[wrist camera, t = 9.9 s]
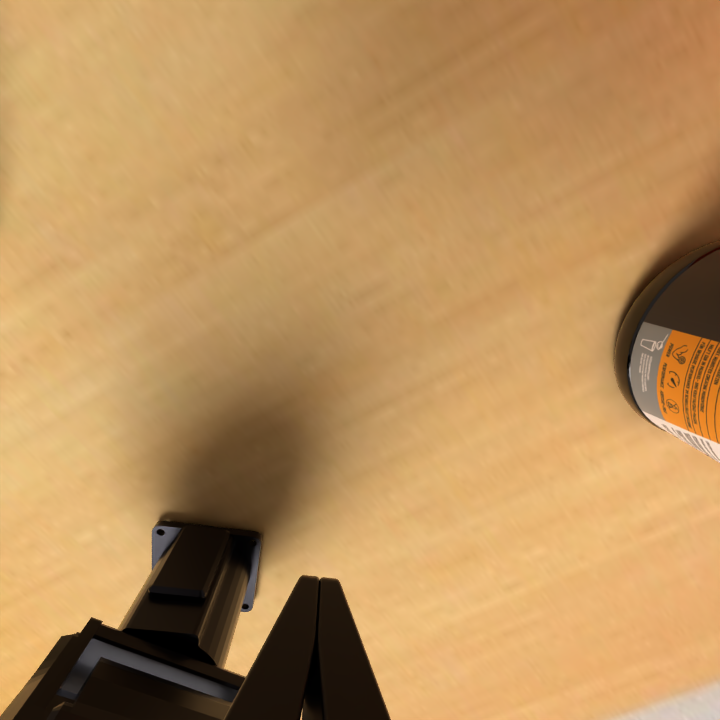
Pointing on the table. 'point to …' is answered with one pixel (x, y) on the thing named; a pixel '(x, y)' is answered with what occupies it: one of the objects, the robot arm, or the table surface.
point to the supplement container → (676, 351)
